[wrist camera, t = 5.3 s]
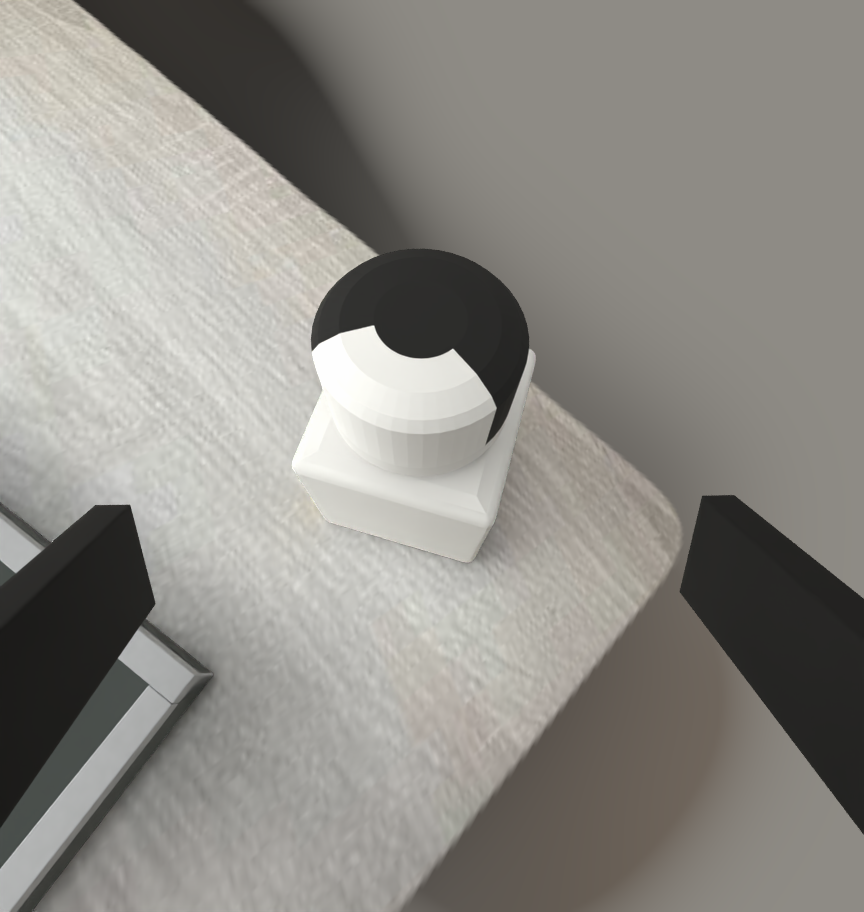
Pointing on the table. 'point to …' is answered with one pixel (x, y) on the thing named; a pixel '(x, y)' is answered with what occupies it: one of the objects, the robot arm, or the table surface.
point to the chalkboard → (89, 744)
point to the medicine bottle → (416, 400)
